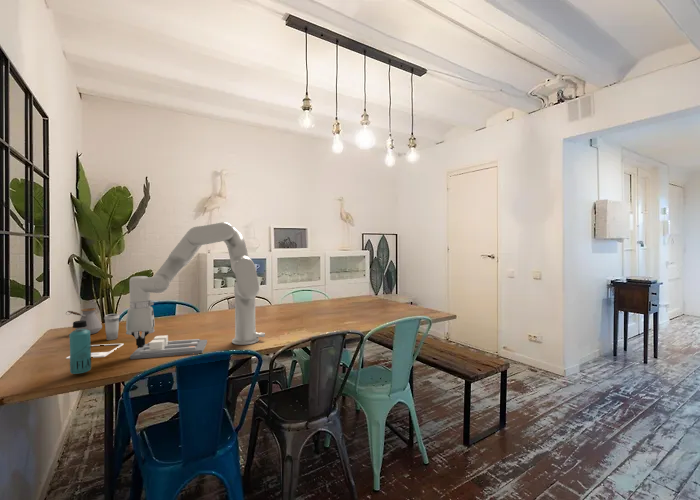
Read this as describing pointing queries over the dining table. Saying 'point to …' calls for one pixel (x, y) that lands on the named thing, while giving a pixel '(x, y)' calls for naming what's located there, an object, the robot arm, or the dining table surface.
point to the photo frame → (102, 354)
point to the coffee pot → (89, 320)
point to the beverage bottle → (80, 348)
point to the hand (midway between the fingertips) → (140, 346)
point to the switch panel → (171, 349)
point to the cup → (111, 326)
